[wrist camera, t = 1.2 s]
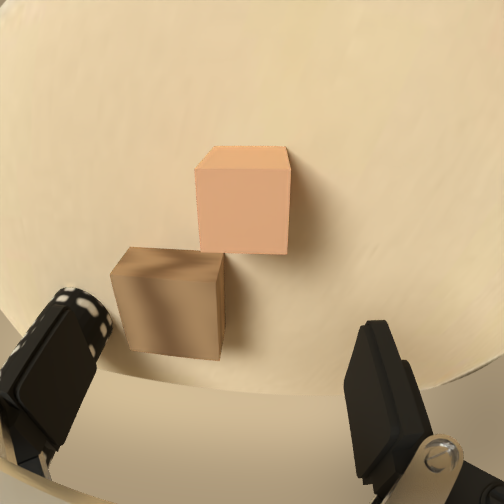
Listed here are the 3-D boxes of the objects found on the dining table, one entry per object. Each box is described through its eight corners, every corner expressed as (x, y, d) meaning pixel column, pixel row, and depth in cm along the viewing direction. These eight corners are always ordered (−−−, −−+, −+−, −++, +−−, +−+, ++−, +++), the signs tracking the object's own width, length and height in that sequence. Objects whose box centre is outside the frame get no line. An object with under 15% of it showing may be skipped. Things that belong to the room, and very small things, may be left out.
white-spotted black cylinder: (45, 285, 32) (-47, 413, 15) (100, 288, 32) (8, 445, 14) (68, 337, 36) (2, 460, 19) (121, 343, 36) (60, 488, 18)
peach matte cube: (285, 146, 24) (290, 169, 18) (283, 212, 27) (287, 254, 20) (214, 146, 24) (194, 168, 18) (217, 211, 27) (200, 252, 21)
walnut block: (224, 250, 29) (215, 282, 25) (225, 325, 33) (219, 360, 29) (130, 245, 29) (109, 274, 25) (144, 317, 34) (130, 350, 29)
